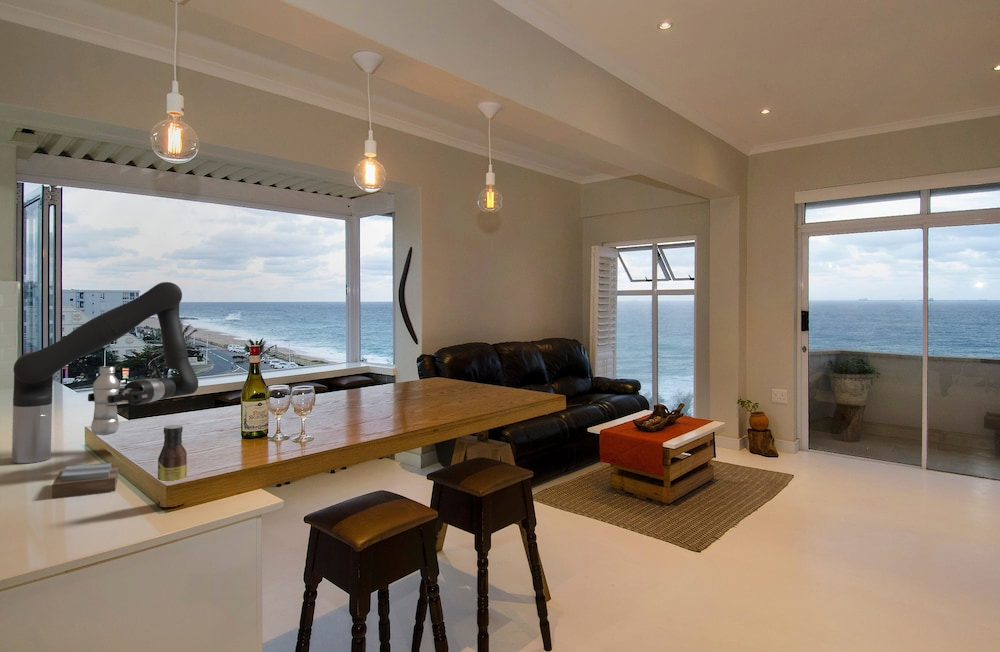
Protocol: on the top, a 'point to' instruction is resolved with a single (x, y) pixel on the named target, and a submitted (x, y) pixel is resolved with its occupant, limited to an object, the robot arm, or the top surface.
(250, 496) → the top surface
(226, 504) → the top surface
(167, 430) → the sauce bottle
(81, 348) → the robot arm
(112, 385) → the silver bottle
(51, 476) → the top surface
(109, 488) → the plinth
